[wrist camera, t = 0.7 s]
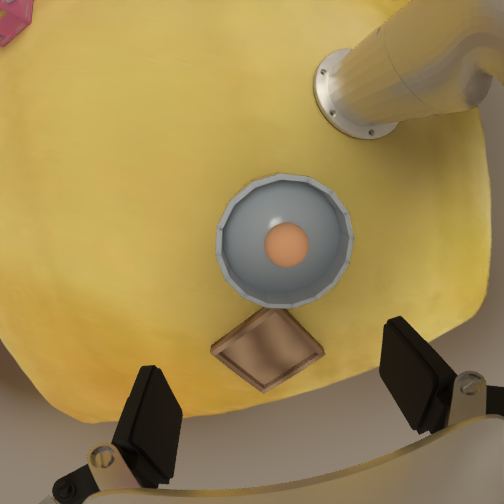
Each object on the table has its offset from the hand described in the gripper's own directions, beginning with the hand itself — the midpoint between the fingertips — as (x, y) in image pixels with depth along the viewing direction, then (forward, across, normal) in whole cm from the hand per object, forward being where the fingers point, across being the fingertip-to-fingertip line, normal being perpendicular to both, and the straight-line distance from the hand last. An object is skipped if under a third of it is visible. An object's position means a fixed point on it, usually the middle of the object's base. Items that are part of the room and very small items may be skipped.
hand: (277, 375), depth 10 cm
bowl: (+25, -4, +1) cm, 25 cm away
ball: (+24, -4, +1) cm, 24 cm away
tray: (+25, 0, +18) cm, 31 cm away
